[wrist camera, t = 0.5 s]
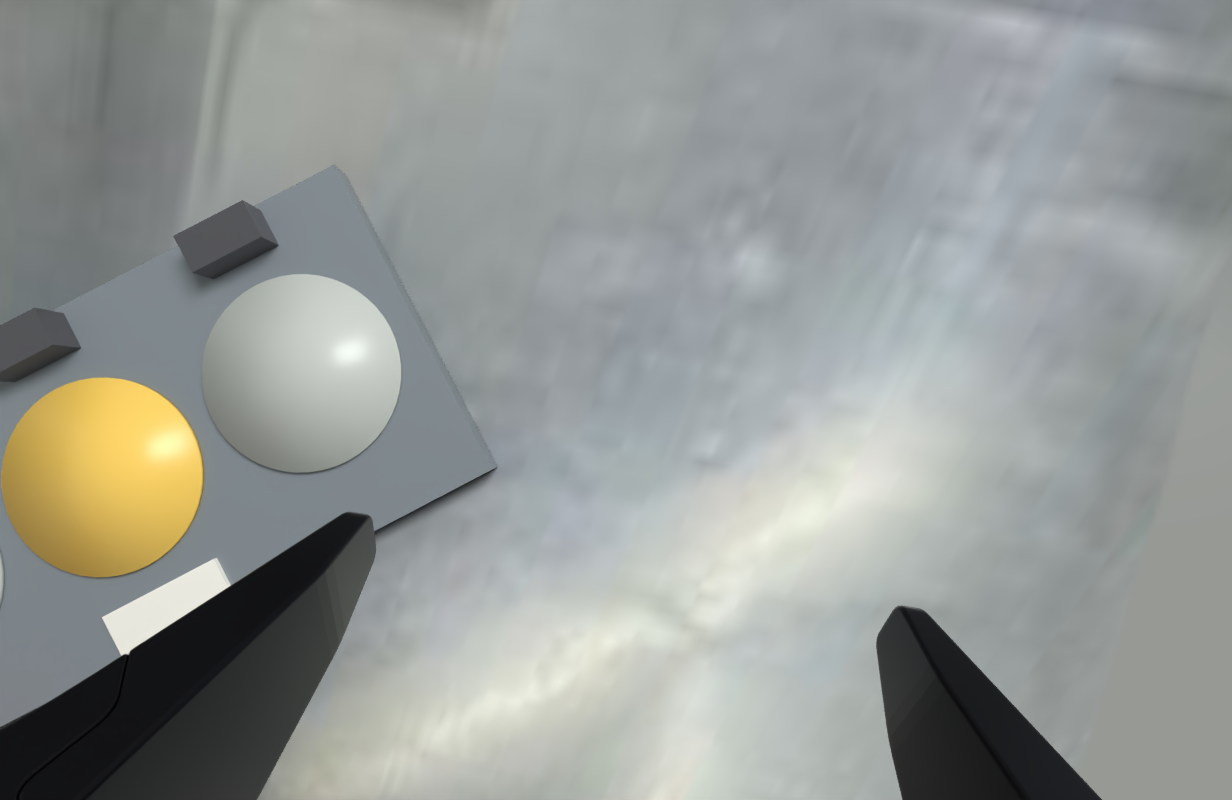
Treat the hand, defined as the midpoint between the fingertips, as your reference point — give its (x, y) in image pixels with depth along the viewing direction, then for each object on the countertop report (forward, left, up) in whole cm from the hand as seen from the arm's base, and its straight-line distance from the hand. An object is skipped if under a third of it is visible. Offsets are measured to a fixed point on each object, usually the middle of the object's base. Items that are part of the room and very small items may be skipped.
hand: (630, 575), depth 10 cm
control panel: (+4, +21, -15) cm, 26 cm away
